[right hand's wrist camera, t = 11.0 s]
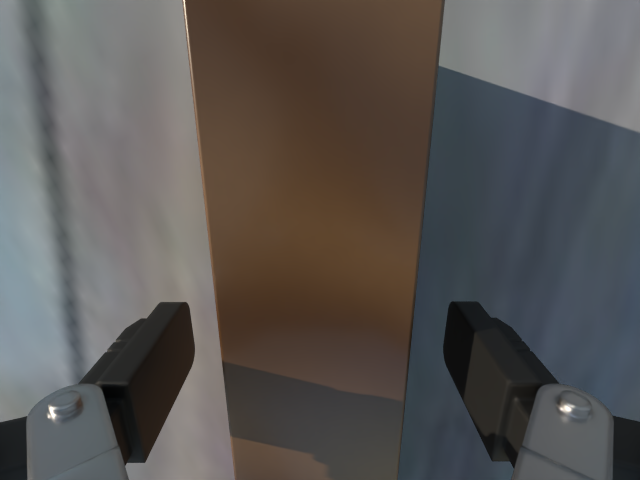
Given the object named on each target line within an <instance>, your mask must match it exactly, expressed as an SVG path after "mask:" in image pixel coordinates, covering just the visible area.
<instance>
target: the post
mask: <svg viewBox="0 0 640 480" xmlns="http://www.w3.org/2000/svg"><path fill="white" fill-rule="evenodd" d="M182 2H183V11H184V20H185V29H186V38H187V47H188V56H189V66H190V75H191V84H192V93H193V102H194V111H195V120H196V129H197V138H198V147H199V156H200V166H201V175H202V184H203V193H204V202H205V211H206V220H207V229H208V238H209V247H210V256H211V266H212V275H213V284H214V293H215V302H216V311H217V320H218V329H219V338H220V347H221V356H222V366H223V375H224V384H225V393H226V402H227V411H228V420H229V429H230V438H231V447H232V456H233V465H234V475H235V480H398V470H399V460H400V450H401V440H402V429H403V419H404V409H405V399H406V389H407V379H408V369H409V359H410V348H411V338H412V328H413V318H414V308H415V298H416V288H417V278H418V267H419V257H420V247H421V237H422V227H423V217H424V207H425V197H426V186H427V176H428V166H429V156H430V146H431V136H432V126H433V115H434V105H435V95H436V85H437V75H438V65H439V55H440V45H441V34H442V24H443V14H444V4H445V0H182Z"/></svg>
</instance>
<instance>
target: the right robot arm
mask: <svg viewBox="0 0 640 480" xmlns="http://www.w3.org/2000/svg"><path fill="white" fill-rule="evenodd" d="M443 353H444V360H445V363H446V366H447V368H448V370H449V372H450V375H451V377H452V379H453V381H454V383H455V385H456V387H457V389H458V391H459V393H460V395H461V397H462V400H463V402H464V404H465V406H466V408H467V410H468V412H469V414H470V416H471V418H472V420H473V422H474V425H475V427H476V429H477V431H478V433H479V435H480V437H481V439H482V441H483V443H484V445H485V447H486V450H487V452H488V454H489V456H490V458H491V460H492V461H510V462H511V464H512V466H513V468H514V472H513V475H512V479H511V480H640V422H638V421H634V420H629V419H625V418H620V417H616V416H612V414H611V412H610V411H609V409H608V408H607V407H606V406H605V405H604V404H603V403H602V402H601V401H599V400H598V399H597V398H595V397H594V396H592V395H590V394H589V393H587V392H585V391H583V390H580V389H578V388H575V387H572V386H568V385H564V384H559V383H558V381H557V380H556V379H555V378H554V377H553V375H552V374H551V373H550V372H549V371H548V370H547V368H546V367H545V366H544V365H543V364H542V363H541V361H540V360H539V359H538V358H537V357H536V356H535V354H534V353H533V352H532V351H530V348H529V347H528V346H527V345H526V344H525V343H524V342H522V339H521V338H520V337H519V336H518V334H517V333H516V332H515V331H514V330H513V329H512V328H511V327H510V326H508V325H507V324H505V323H504V322H502V321H501V320H499V319H497V318H491V317H490V316H489V315H488V314H487V312H486V311H485V310H484V309H483V307H482V306H481V305H480V304H479V303H478V302H451V303H450V305H449V308H448V315H447V322H446V330H445V337H444V345H443ZM194 355H195V344H194V337H193V330H192V323H191V315H190V309H189V305H188V304H187V303H186V302H161V303H159V304H158V305H157V307H156V308H155V309H154V310H153V312H152V313H151V314H150V315H149V316H148V318H147V319H140V320H138V321H137V322H135V323H134V324H132V325H130V326H129V327H127V328H126V329H125V330H124V331H123V332H122V333H121V335H120V336H119V337H118V338H117V339H116V342H114V343H113V344H112V345H111V346H110V347H109V349H108V351H107V352H105V353H104V354H103V356H102V357H101V358H100V359H99V360H98V361H97V363H96V364H95V365H94V366H93V367H92V368H91V370H90V371H89V372H88V373H87V374H86V375H85V377H84V378H83V379H82V380H81V381H80V382H79V383H78V384H76V385H72V386H68V387H65V388H62V389H60V390H57V391H55V392H53V393H51V394H50V395H48V396H46V397H45V398H43V399H42V400H41V401H39V402H38V403H37V404H36V405H35V406H34V407H33V408H32V409H31V411H30V412H29V414H28V416H26V417H22V418H18V419H13V420H9V421H5V422H0V480H129V479H128V475H127V472H126V468H125V465H126V463H145V462H146V460H147V458H148V456H149V454H150V451H151V449H152V447H153V445H154V443H155V441H156V439H157V437H158V435H159V433H160V431H161V429H162V427H163V425H164V423H165V421H166V419H167V416H168V414H169V412H170V410H171V408H172V406H173V404H174V402H175V400H176V398H177V396H178V394H179V392H180V390H181V388H182V386H183V384H184V382H185V379H186V377H187V375H188V373H189V371H190V369H191V367H192V364H193V361H194Z"/></svg>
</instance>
